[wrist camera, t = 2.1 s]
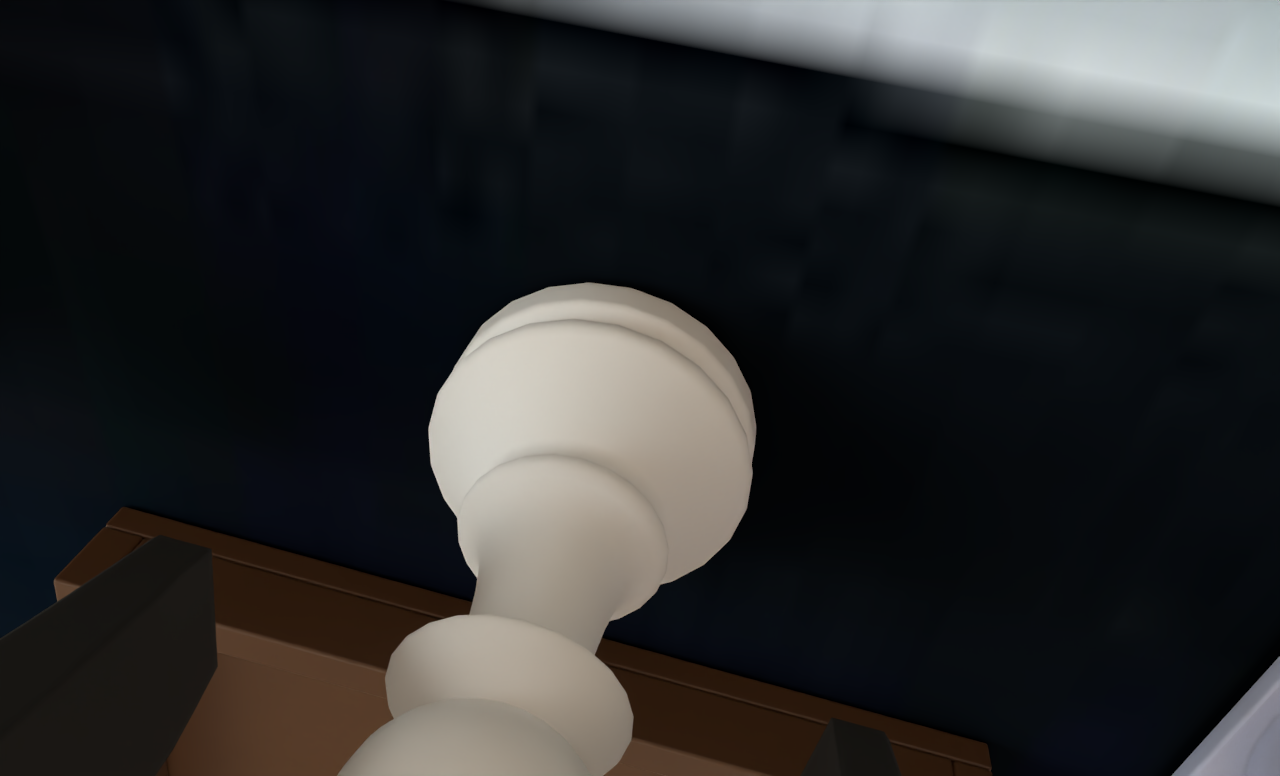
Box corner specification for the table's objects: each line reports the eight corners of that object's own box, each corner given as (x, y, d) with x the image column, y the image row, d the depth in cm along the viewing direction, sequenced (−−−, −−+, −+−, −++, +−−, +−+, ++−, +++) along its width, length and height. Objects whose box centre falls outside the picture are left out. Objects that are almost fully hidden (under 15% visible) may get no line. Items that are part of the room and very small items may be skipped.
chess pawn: (584, 211, 14) (312, 721, 6) (823, 421, 15) (833, 1051, 8) (402, 407, 16) (50, 943, 9) (621, 573, 18) (477, 1162, 10)
